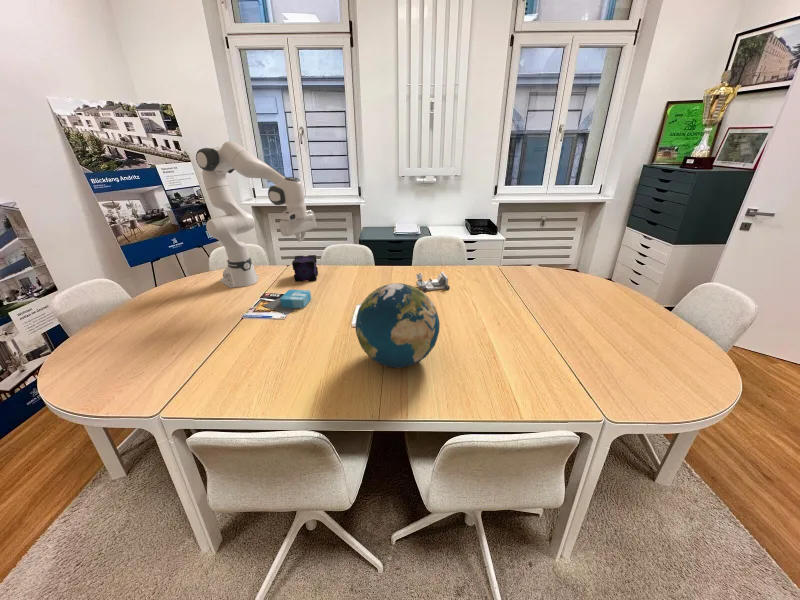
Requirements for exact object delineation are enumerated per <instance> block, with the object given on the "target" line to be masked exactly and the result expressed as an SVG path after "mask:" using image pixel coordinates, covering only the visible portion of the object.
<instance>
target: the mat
mask: <svg viewBox="0 0 800 600" xmlns="http://www.w3.org/2000/svg"><path fill="white" fill-rule="evenodd" d="M280 298H281V297H279V298H276V299H275V300H272V301H270V302H268V303H265V304H264V305H262V307H264V308H266V307H267V308H266V309H269V308H270V310H272V309H273V310H272V311H275V310H276V312H277V313H280V312H281V314H283V313H284V314H283V315H288V314H290V313H292V312H295V311H296V310H298V309H299V308H284V307H282V306H281V301H280Z"/></svg>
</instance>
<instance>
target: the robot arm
mask: <svg viewBox="0 0 800 600" xmlns="http://www.w3.org/2000/svg"><path fill="white" fill-rule="evenodd" d="M195 160H196V163H197V165H198V167H199V168H200V169H201V170H202V172H201V174H202V175H201V176H202V180H203V183H204V186H205V189H206V192H207V196H208V198H209V201H210V203H211V205H212V206H213V207H215V208H216V209H219V210H221V211H223V212H224V213H225V215H220V216H219V215H218V216H215V217H214V218H213V217H212V218H210V219H208V220H207V222H206V224H205V225H206V227H205V228H206V229H205V230H206V231H207V233H208V236H210V237H212V238H213V239H216V240H218V241H219V242H220V243H221V244H222V246H223V247H224V249H225V253H226V256H227V260H226V263H227V267H225V269H224V270H223V271H222V276H223V277H221V278H220V279H219V282H221V284H223V285H225V286H226V287H228V288H231V289H232V288H233V289H234V288H241V287H242V288H243V287H248V286H251V285H254V284H256V283H257V282H258V279H259V275H258V274H257V272H256V268H255V266H254V264H253V262H252V259H251V256H250V253H249V248H248V245H247V244H246V243H245V242H244V241H241V240H239V239H237V237H236V236H237V235H240V234H244V233H247V232H249V231H250V232H251V230H254V228H255V225H256V221H255V218H254V216H253V215H252V214H251V213H250V212H247V211H246V210H245V209H242V208H241V207H240V205H239V204H238V203H237V201H236V200H235V198H234V195H233V193H232V190H231V188H230V185H229V183H228V180H227V178H226V177H227V173H228V174H231V173H233V172H234V171H236V172H237V173H238V174H240V175H241V176H243V177H245V178H248V179H249V178H250V179H261V180H263V179H264V180H267V181H268V182H271V183H272V184H273V185H270V187H269V188H268V189H267V195H268V199H269V201H270V202H271V204H273V205H274V206H283V205H284V206H286V209H285V210H284V211H283V212H281V213H280V214H279V215H278V218H279V219H280V220H279V229H280V235H282V236H283V237H290V236H293V235H294V236H295V237H296V240H297V242H303V241H305V236H306V231H307V232H308V231H310V230H314V229H316V228H317V220H316V217H315V213H314V211H313V210H312V209H308V210H307V205H306V203H305V191H304V186H303V182H302V181H301V179H299V178H298V177H294V176H285V175H284V174H283V173H281V172H279V170H277V169H276V168H274V167H272V166H271V165H269V164H268V163H266V162H264V161H262V160H260V159H259V158H258V157H256V156H255V155H254V154H252V153H251V152H249V151H248V150H247V149H246V148H244V147H243V146H242V145H240V144H239V143H237V142H235V141H231V140H229V141H225V142H224V143H223V144H222V146H221V147H219V146H217V147H204V148H200V149H199V150H197V151H196V154H195Z"/></svg>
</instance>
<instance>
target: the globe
mask: <svg viewBox="0 0 800 600" xmlns="http://www.w3.org/2000/svg"><path fill="white" fill-rule="evenodd" d="M440 328H441V327H440V319H439V315H438V311H437V308H436V306H435V304H434V302H433V301H432V300H431V298H430V297H429V296H428V295H427V294H426V292H423V291H422V289H420V288H419V287H415V286H413V285H410V284H406V283H399V282H398V283H394V282H393V283H390V284H385V285H382V286H380V287H378V288H375V289H374V290H373V291H372V292H370V293H369V294H368V295H367V296H366V297H365V298H364V300H363V301H362V303H361V304H360V306H359V308H358V311H357V315H356V318H355V333H356V337H357V339H358V344H359V345H360V348H361V349H362V350H363V351H364V353H365V354H366V355H367V356H368V357H369V358H370V359H372V360H373V361H374V362H375V363H377V364H379V365H383V366H385V367H388V368H393V369H395V368H397V369H398V368H401V369H402V368H406V367H407V368H408V367H410V366H413V365H415V364H418V363H419V362H422V360H424V359H425V358H426V357H427V356H428V355H429V354H430V353H431V351H432V350H433V349H434V347H435V346H436V344H437V341H438V338H439V333H440Z"/></svg>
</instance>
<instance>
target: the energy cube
mask: <svg viewBox="0 0 800 600" xmlns="http://www.w3.org/2000/svg"><path fill="white" fill-rule="evenodd" d="M291 265H292V270H293V272H294V274H293V277H294V278H293V279H294V282H295V283H303V282H304V281H307V282H317V279H318V275H319V270H318V266H317V255H316V254H311V255H307V256H304V255H294V258H293V260H292V262H291Z"/></svg>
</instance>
